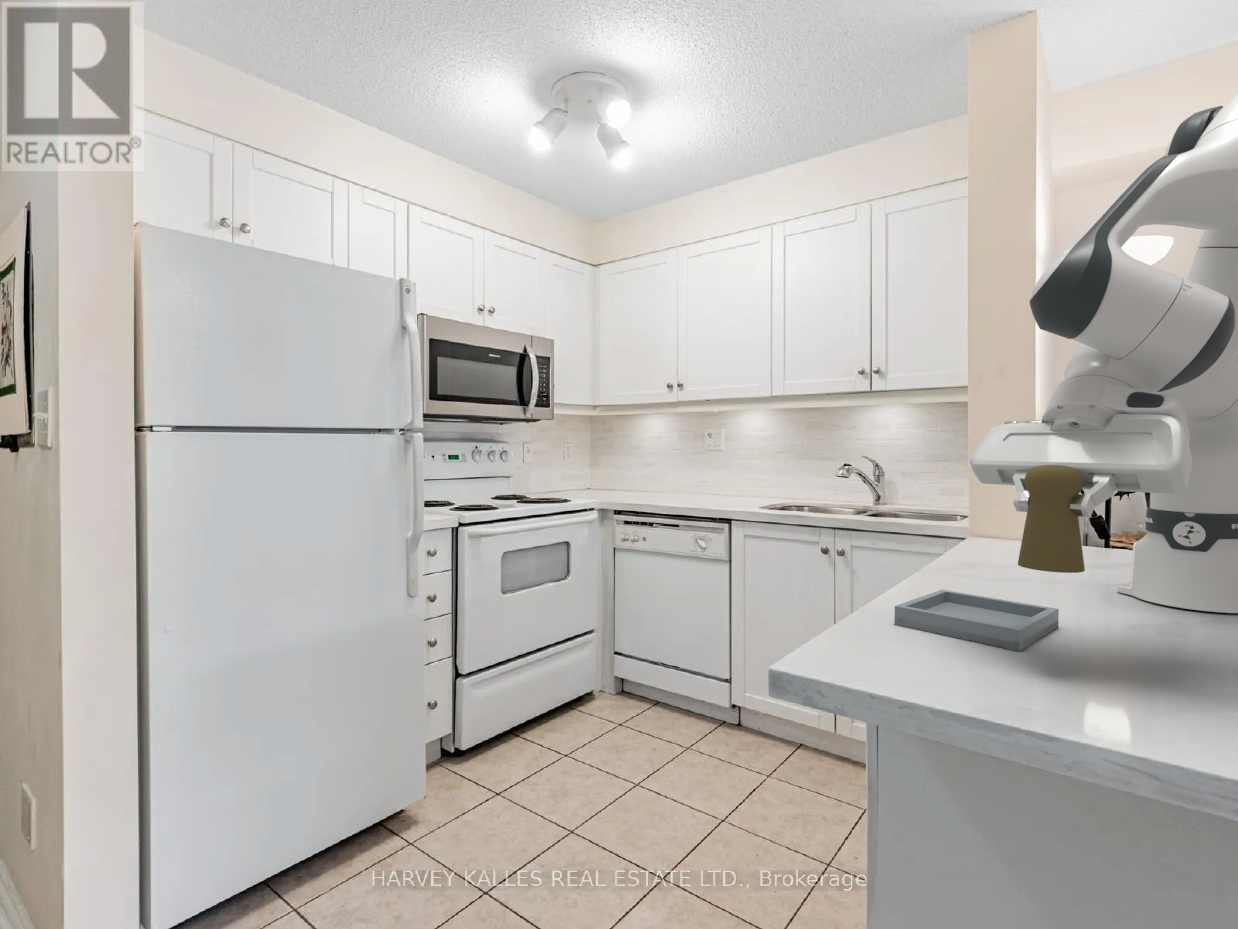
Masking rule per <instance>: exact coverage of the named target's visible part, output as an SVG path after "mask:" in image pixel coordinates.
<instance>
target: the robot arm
mask: <svg viewBox="0 0 1238 929" xmlns="http://www.w3.org/2000/svg"><path fill="white" fill-rule="evenodd" d="M1151 225H1152V226H1153V225H1164V226H1176V227H1183V228H1189V229H1196V230H1203V233H1202V235H1201V238H1200V240H1199V244H1198V246H1197V249H1196V251H1195V255H1194V257H1193V261H1192V264H1191V267H1190V270H1189V272H1188V275H1187V277H1186V278H1185V277H1182V276H1181V277H1180V276H1178V275H1175V274H1172V273H1170V272H1167V271H1165V270H1163V269H1161V268H1158V267H1155V266H1153V265H1150V264H1147V263H1145V262H1143V261H1140V260H1138V259H1136V258H1134V257H1132V256H1130V255H1129V254H1127V253H1126V252H1125V251H1124V250H1123V249H1122V247H1123V246H1124V245H1125V244H1126V243H1127V242H1128V240H1130V239H1131V237H1132V236H1133V235H1134V234H1135V232H1137V230H1138V229H1139V228H1140V227H1141V228H1142V227H1144V226H1151ZM1029 307H1030V309H1031V313H1032V316H1033V319H1034V321H1035V322H1036V324H1037V326H1038V328H1039V329H1040V330H1042V331H1045V332H1048V333H1050V334H1054V335H1056V336H1059V337H1061V338H1066V339H1068V340H1074V341H1076V342H1079V344H1078V346H1077V347H1076V348H1075V350H1074V352H1073V354H1072V356H1070V359H1069V360H1068V363H1067V365H1066V367H1065V371H1064V378H1063V380H1062V381H1061V382H1060V383H1059V384H1058V386H1057V387H1056V389H1055V390H1054V393H1053V394H1052V396H1051V399H1050V401H1049V402H1048V405H1047V407H1046V409H1045V411H1044V413H1043V416H1042V417H1041V419H1040V420H1038V419H1037V420H1036V419H1035V420H1023V421H1018V420H1009V421H1005V422H1004V423H1003V424H999V425H997V426H993V427H991V429H990V430H988V432H987V434H986V435H985V437H984V438H983V439H982V440H981V442H980V443H979V444H978V446H977V447H976V449H975V450H974V452H973V454H971V458H970V460H969V464H970V468H971V469H972V472H973V474H974V476H975V477H976V479H977V480H978V481H979V482H980V483H981V484H985V485H999V486H1000V485H1001V486H1002V485H1003V486H1015V489H1016V491H1017V492H1016V494H1015V497H1014V499H1013V506H1014V508H1015V510H1016V511H1017V512H1021V513H1027V510H1028V506H1029V499H1030V494H1029V492H1028V491H1027V490H1026V487H1025V475H1026V473H1027V471H1028V470H1029V469H1030V468H1032V467H1036V466H1041V465H1063V466H1068V467H1072V468H1075V469H1077V470H1079V472H1080V473H1081V475H1082V479H1083V486H1082V489H1081V490H1087V491H1086V492H1084V493H1083V494H1080V493H1079V494H1077V495H1076V496H1074V497H1073V501H1072V502H1071V504H1070V510H1071V511H1072V512H1073V513H1074V515H1075V516H1078V518H1079V517H1080V518H1091V517H1092V514H1093V512H1094V510H1095V507H1098V506H1099V505H1101V504H1102V503H1104V502H1105V501H1107V500H1109V499H1110V498H1113V496H1114V493H1115V492H1128V493H1129V492H1132V493H1133V492H1134V493H1149V507H1148V508H1146V513H1145V516H1144V522H1145V531H1147V532H1146V534H1145V535H1144V536H1143V537H1141V538H1140V539H1138V540H1137V541H1136V542H1134V543H1133V546H1132V556H1131V568H1130V579H1129V580H1130V581H1129V583H1123V584H1119V585H1117V591H1116V592H1118V593H1121V594H1124V595H1130V596H1133V597H1135V598H1137V599H1140V600H1143V601H1146V602H1150V603H1153V604H1158V605H1163V606H1166V607H1167V606H1168V607H1174V608H1180V609H1187V610H1193V611H1194V610H1195V611H1200V612H1201V611H1203V612H1213V613H1222V614H1223V613H1226V614H1238V91H1237V92H1236V93H1235V94H1234V95H1233V96H1232V97H1231V98H1230V99H1229V100H1228V101H1227V102H1226V103H1225V104H1224V105H1223V106H1222V105H1219V106H1214V107H1211V108H1210V107H1209V108H1207V109H1203V110H1201V111H1197V112H1194V113H1193V114H1192V115H1190V116H1189V117H1187V118H1186V119H1184V120H1183V121H1182V122H1181V123H1180V124H1179V125H1178V127H1177V128H1176V130H1175V132H1174V133H1173V135H1172V137H1171V138H1170V140H1169V141H1168V144H1167V147H1166V149H1165V153H1164V156H1161V157H1160V158H1158V159H1157V160H1155V161H1154V162H1153V163H1152V164H1151V165H1149V166H1148V167H1147V168H1146V169H1145V170H1143V172H1142V173H1141V174H1140V175H1138V177H1136V179H1135V180H1134V181H1133V182H1132V183H1131V184H1130V185H1129V186H1128V187H1127V188H1126V189H1125V190H1124V191H1123V193H1122V194H1121V195H1120V196H1119V197H1118V198H1117V199H1116V200H1115V202H1114V203H1112V204H1111V205H1110V207H1109V208H1108V209H1107V210H1106V211H1105V212H1104V213H1103V214H1102V215H1101V216H1100V217H1099V219H1098V220H1097V221H1096V222H1095V223H1094V224H1093V225H1092V227H1090V228H1089V229H1088V231H1087V232H1086V233H1085V234H1083V236H1082V237H1081V238H1080V239H1079V240H1078V241H1077V242H1076V243H1075V245H1073V246H1072V247H1071V248H1070V249H1067V250H1066V251H1065V252H1064V253H1063V254H1061V255H1060V256H1058V258H1057V259H1056V260H1054V261H1053V262H1052V263H1051V264H1050V265H1049V267H1047V268H1046V270H1045V271H1044V272H1043V273H1042V274H1041V276H1040V278H1039V279H1038V281H1037V282H1036V284H1035V286H1034V287H1033V290H1032V293H1031V297H1030V299H1029Z"/></svg>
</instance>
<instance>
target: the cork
mask: <svg viewBox="0 0 1238 929" xmlns="http://www.w3.org/2000/svg"><path fill="white" fill-rule="evenodd" d="M1082 486H1083V479H1082V475H1081V473H1080V472H1079V470H1077V469H1075V468H1072V467H1068V466H1063V465H1041V466H1036V467H1032V468H1030V469H1029V470H1028V471H1027V473H1026V475H1025V487H1026V491H1028V492H1029V494H1030V499H1029V506H1028V510H1027V512H1026V517H1025V521H1024V526H1023V533H1022V537H1021V538H1022V539H1021V544H1020V550H1019V555H1018V559H1017V560H1018V561H1017V566H1019V567H1020V568H1024V569H1029V570H1034V571H1035V570H1036V571H1041V572H1049V573H1063V574H1064V573H1066V574H1072V573H1073V574H1075V573H1084V572H1085V571H1086V568H1085V561H1084V554H1083V546H1082V538H1081V529H1080V521H1079V516H1075V515H1074V513H1073V512H1072V511H1071V510H1070V504H1071V502H1072V501H1073V497H1074V496H1076V495H1077V494H1080V493H1081V491H1082V490H1083V489H1082Z"/></svg>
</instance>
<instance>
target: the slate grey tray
mask: <svg viewBox="0 0 1238 929" xmlns="http://www.w3.org/2000/svg"><path fill="white" fill-rule="evenodd" d="M1059 616H1060V615H1059V608H1055V607H1048V606H1045V605H1044V606H1042V605H1037V604H1030V603H1025V602H1018V601H1014V600H1013V601H1012V600H1008V599H1007V600H1006V599H1001V598H995V597H988V596H983V595H978V594H971V593H965V592H958V591H952V590H947V589H946V590H945V589H940V590H936V591H934V592H931V593H928V594H926V595H922V596H920V597H917V598H914V599H911V600H908V601H905V602H903V603H900V604H896V605H894V625H896V626H902V627H904V628H909V629H914V630H919V631H923V632H924V631H925V632H929V633H934V634H937V633H938V634H937V635H941V636H946V637H951V638H955V637H956V638H955V639H960V638H961V640H964V639H965V640H966V641H969V640H972V641H971V642H974V641H976V642H975V643H978V642H979V644H983V643H986V644H985V645H988V644H990V645H989V646H992V645H993V647H998V648H1001V647H1002V649H1007V650H1011V651H1015V652H1020V651H1022V650H1023V649H1025V648H1027V647H1029V646H1030V645H1032V644H1034V643H1035V642H1037V641H1038V640H1040V639H1043V638H1044V637H1045V636H1047V635H1048V634H1050V633H1052V632H1053V631H1055V630H1056V629H1058V628H1059Z"/></svg>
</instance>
